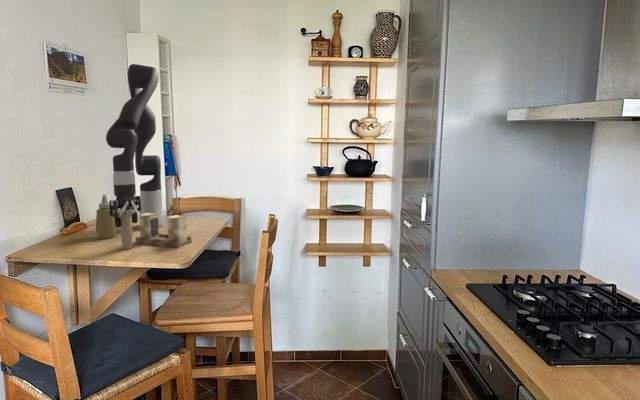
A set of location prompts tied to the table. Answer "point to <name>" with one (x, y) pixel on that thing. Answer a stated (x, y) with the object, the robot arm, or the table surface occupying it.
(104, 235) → the squeeze bottle
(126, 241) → the beige tall post
